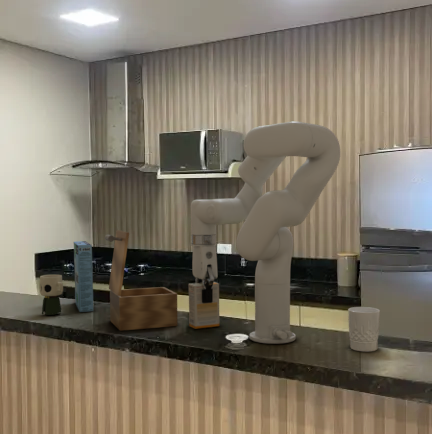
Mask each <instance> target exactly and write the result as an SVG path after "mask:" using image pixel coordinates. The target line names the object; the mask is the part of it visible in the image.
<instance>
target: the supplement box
mask: <svg viewBox="0 0 432 434" xmlns="http://www.w3.org/2000/svg"><path fill="white" fill-rule="evenodd" d="M206 282H207V281H205V284H206ZM202 290H203V283H195V282H192V283H188V323H189V324H188V326H189V327H190V328H192V329H194V330H199V329H206V328H214V327H220V326H221V325H220V323H221V322H220V283H218V282H215V281H214V282H213V302H212V303H202Z"/></svg>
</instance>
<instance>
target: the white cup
mask: <svg viewBox="0 0 432 434" xmlns="http://www.w3.org/2000/svg"><path fill="white" fill-rule="evenodd" d="M347 315H348V316H347V317H348V337H349V347H350V350H353V351H357V352H364V353H365V352H375V351H377V350H378V345H379V344H378V343H379V340H378V339H379V333H380V316H381V309H379V308H376V307H369V306H354V307H353V306H352V307H349V308H348V309H347Z"/></svg>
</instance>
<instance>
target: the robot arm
mask: <svg viewBox="0 0 432 434" xmlns="http://www.w3.org/2000/svg"><path fill="white" fill-rule="evenodd" d="M243 150H244V153H245V154H246V157H245V158H244V160H243V161H242V162H241V163H240V165H239V166H238V169H237V171H238V176H239V177H240V179H241V180H242V181H243V182H244V184H243V186H242V188H241V190H240V191H239V192H238V193H237V194H236V196H235V197H234V198H231V197H229V198H228V197H227V198H224V197H223V198H213V199H207V198H206V199H204V198H203V199H193V200H192V201H191V203H190V246H191V247H192V262H191V263H192V264H191V265H192V267H191V268H192V269H191V270H192V275H193V277H194V281H195V282H194V283H203V290H202V303H212V302H213V282H215V280H217V279H218V275H219V274H218V257H217V249H216V246H217V226H221V225H235V224H240V223H242V225H241V226H240V228H239V231H238V233H237V236H236V242H235V245H236V250H237V253H238V254H239V256H240V257H241V258H243V259H244V260H247V261H250V262H257V263H256V267H255V272H254V273H255V274H254V330H253V331H252V332H250V333H249V335H248V336H249V340H250V341H253V342H255V343H259V344H270V345H271V344H272V345H279V344H280V345H281V344H288V343H292V342H294V341H295V340H296V339H297V336H296V334H295V333H294V332H292V331H291V266H292V265H291V264H292V257H293V251H294V245H295V244H294V236H293V233H292V231H291V230H290V229H289V228H291V227H296V226H299V225H301V224H302V223H304V221H305V220H306V219H307V217H308V215H309V213H310V212H311V210H312V209H313V207H314V206H315V204H316V202H317V201H318V199H319V197H320V196H321V194H322V193H323V191H324V189H325V187H326V186H327V185H328V183H329V181H330V180H331V178H332V177H333V175H334V174H335V172H336V170H337V168H338V166H339V164H340V160H341V146H340V142H339V139H338V137H337V136H336V134H335V133H334V132H333V131H332V130H331V128H330V129H329V128H327V127H326V126H324V125H320V124H316V123H308V122H302V121H285V122H279V123H272V124H267V125H259V126H256V127H253V128H251V129H250V130H249V131H248V132H247V133H246V135H245V137H244V139H243ZM286 157H299V158H300V157H301V158H306V160H305V161H304V162H303V164H301V165H300V166H299V168H297V170H295V172H294V173H293V175H292V177H291V178H290V181H289V182H288V183H287V185H286V186H285V187H284V188H283V189H281V190H270V191H267V192H265V193H263V190H264V189H263V188H264V187H263V186H264V185H265V184H266V182H267V181H268V180H269V178H271V176H272V175H273V174H274V172H275V171H276V170H277V169H278V167H279V166H280V165H281V164H282V163H283V161H285V159H286ZM205 282H206V284H205Z"/></svg>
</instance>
